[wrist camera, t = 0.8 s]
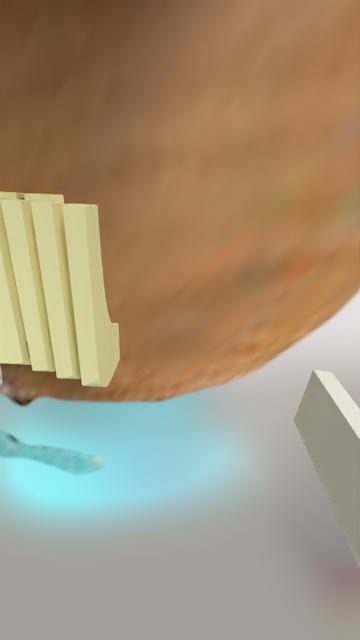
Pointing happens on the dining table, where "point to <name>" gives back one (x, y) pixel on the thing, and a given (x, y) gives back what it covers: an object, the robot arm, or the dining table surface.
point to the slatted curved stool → (54, 289)
